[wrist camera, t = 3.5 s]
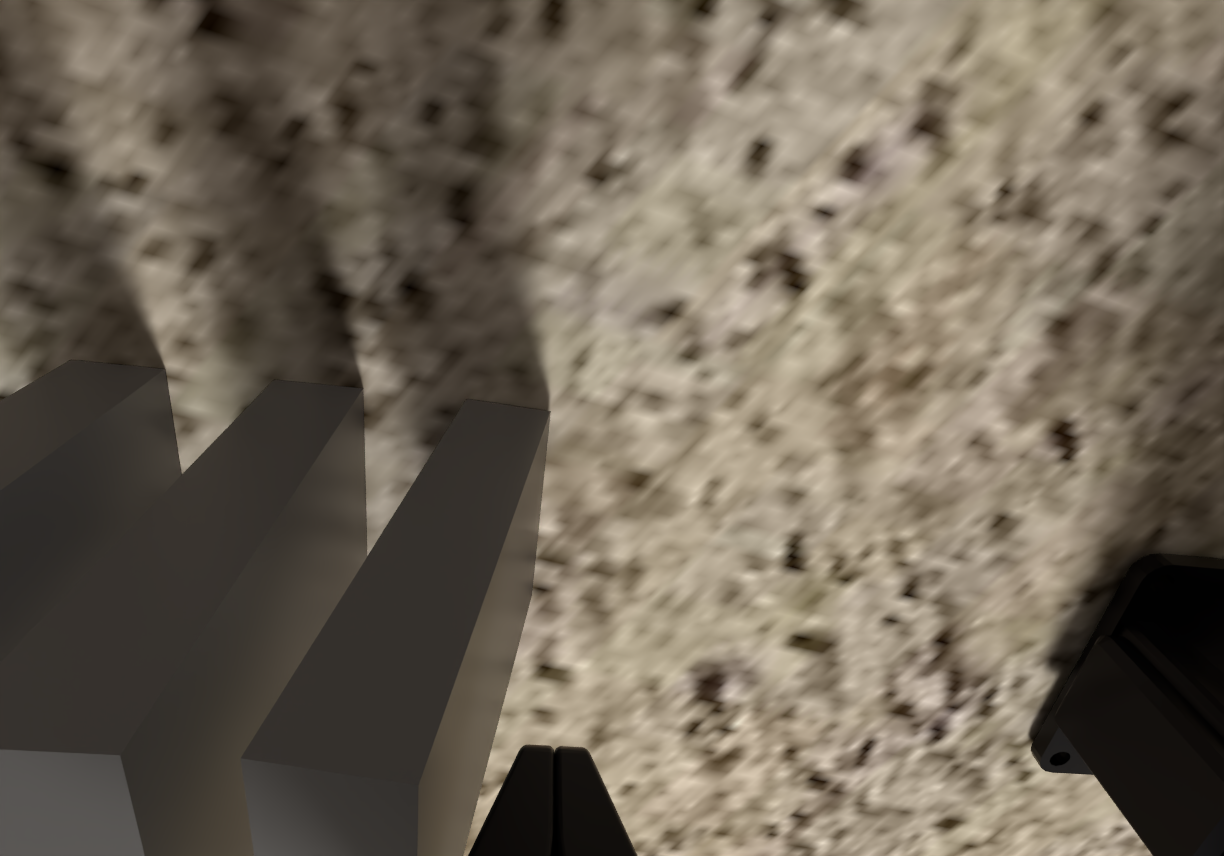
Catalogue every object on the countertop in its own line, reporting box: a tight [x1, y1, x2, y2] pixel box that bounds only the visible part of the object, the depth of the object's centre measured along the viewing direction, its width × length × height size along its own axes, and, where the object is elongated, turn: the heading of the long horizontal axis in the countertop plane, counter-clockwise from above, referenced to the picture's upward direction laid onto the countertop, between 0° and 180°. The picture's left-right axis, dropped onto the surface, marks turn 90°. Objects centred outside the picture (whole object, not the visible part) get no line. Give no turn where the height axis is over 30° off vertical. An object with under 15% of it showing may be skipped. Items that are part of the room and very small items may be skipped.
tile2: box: [0, 380, 367, 856], centre depth 11 cm, size 2×4×8 cm, turn 172°
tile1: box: [240, 399, 551, 856], centre depth 11 cm, size 2×4×8 cm, turn 173°
